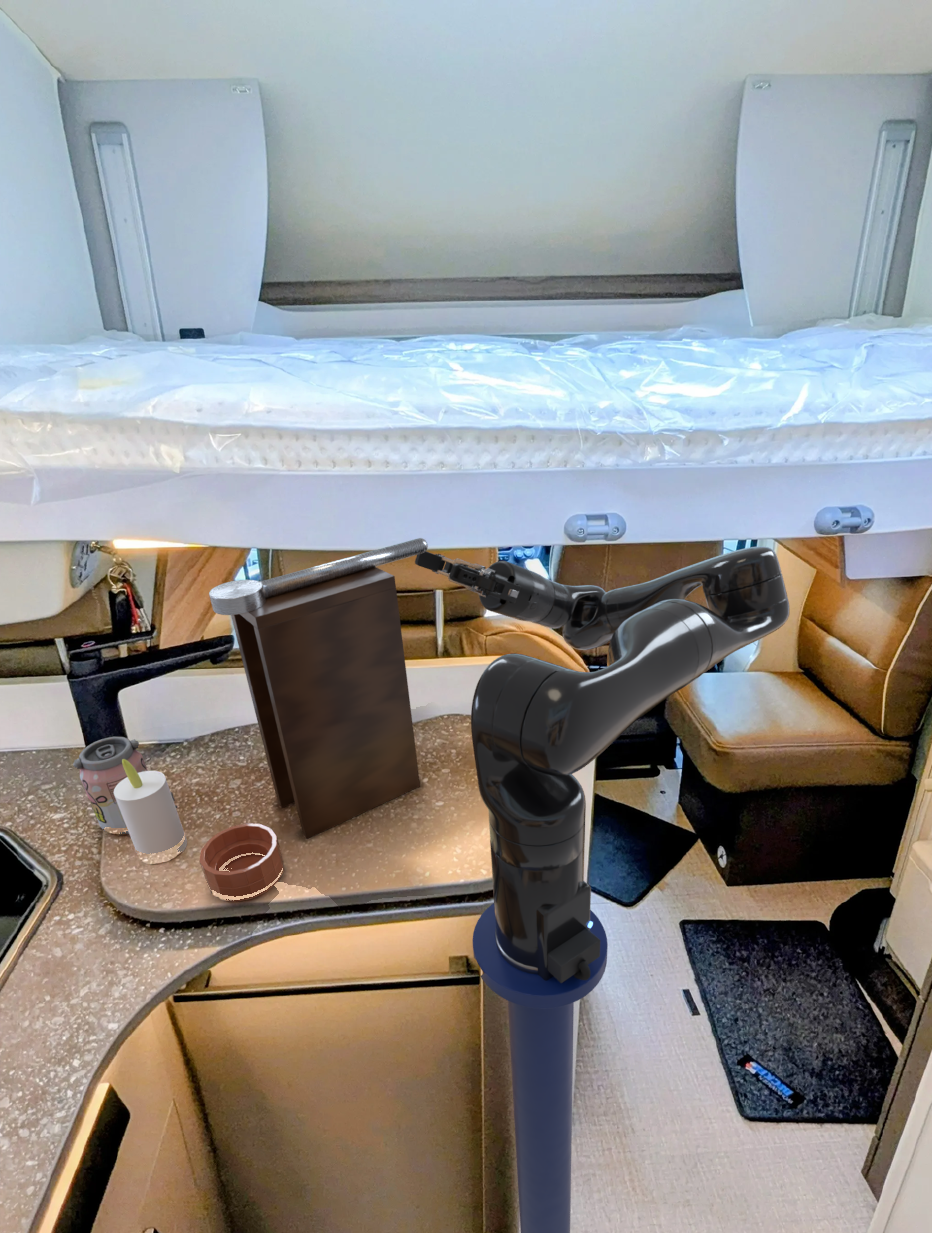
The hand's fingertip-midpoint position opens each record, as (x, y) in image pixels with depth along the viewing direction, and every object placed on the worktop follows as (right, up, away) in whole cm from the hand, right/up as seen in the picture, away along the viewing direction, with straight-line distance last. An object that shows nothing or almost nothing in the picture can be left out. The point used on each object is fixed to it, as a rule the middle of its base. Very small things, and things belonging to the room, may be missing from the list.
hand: (434, 563), depth 95 cm
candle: (-36, -38, 0) cm, 53 cm away
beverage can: (-44, -35, +6) cm, 57 cm away
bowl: (-23, -41, -7) cm, 47 cm away
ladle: (-13, -4, -8) cm, 16 cm away
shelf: (-12, -32, +7) cm, 35 cm away
